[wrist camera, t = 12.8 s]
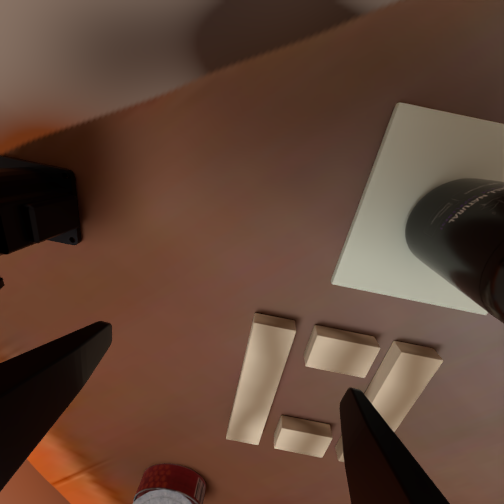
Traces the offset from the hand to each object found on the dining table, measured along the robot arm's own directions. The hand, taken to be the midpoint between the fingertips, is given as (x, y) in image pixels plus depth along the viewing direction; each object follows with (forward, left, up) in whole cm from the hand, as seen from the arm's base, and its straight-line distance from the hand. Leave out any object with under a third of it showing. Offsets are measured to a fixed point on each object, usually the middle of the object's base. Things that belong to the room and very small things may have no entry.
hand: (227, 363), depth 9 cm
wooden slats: (+11, -16, -13) cm, 23 cm away
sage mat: (+15, +5, -13) cm, 20 cm away
